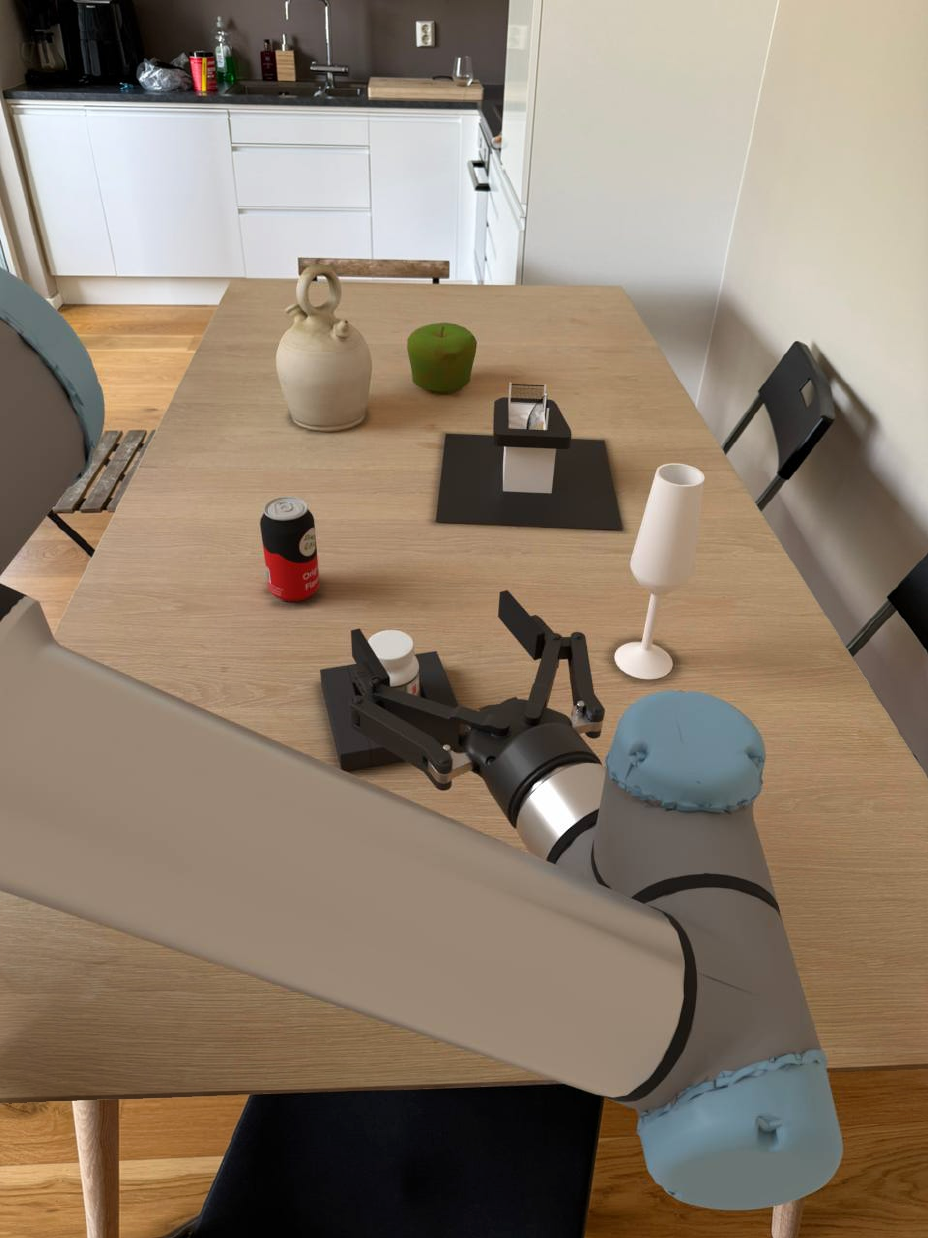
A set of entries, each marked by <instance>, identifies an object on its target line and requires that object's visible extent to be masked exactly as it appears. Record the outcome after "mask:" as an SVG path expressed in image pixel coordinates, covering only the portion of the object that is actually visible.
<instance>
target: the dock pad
mask: <svg viewBox="0 0 928 1238" xmlns="http://www.w3.org/2000/svg"><path fill="white" fill-rule="evenodd" d="M414 655H415V657H416V658H417V660H418V664H419V685H420V697H422V698H425V699H428V700H431V701H434V702H437V703H440V704H443V705H446V706H449V707H452V708H457V707H458V706H460V705H459V703H458V701H457V698H456V696H455V693H454V691H453V688H452V685H451V683H450V681H449V678H448V676H447V674H446V671H445V669H444V666H443V664H442V661H441V659H440V656H439V654H438V651H437V650H434V651H427V652H421V653H414ZM355 665H356V663H351V664H347V665H340V666H333V667H328V668H320V669H319V674H320V685H321V686H320V687H321V691H322V694H323V699H324V705H325V708H326V712H327V715H328V721H329V724H330V729H331V733H332V737H333V741H334V745H335V751H336V755H337V759H338V762H339V767H340V769H341V770H343V771H345V772H349V771H355V770H359V769H365V768H371V767H376V766H381V765H387V764H392V763H397V762H403V761H404V760H403V759H402V758H400V757H398V756H397V755H395V754H394V753H392V752H390V751H389V750H387V749H385V748H384V747H382V746H381V745H379V744H377V743H376V742H374V741H372V740H371V739H369V738H368V737H366V736H364V735H363V734H361V733H360V732H358V731H356V730H355V729H353V728H352V727H351V719H350V702H349V701H350V699H351V698H352V697H353V696H357V695H359V696H362V694H361V692H360V690H359V689H358V687H357V686H356V684H355V672H354V667H355ZM469 732H470V729H469V728H468V725H465V735H466V736H469ZM432 738H433V737H432ZM434 739H435V740H436V741H438V742H439V743H440V744H441V745H442V746H444V745H449V744H448V743H447V742H445V741H442V740H439V739H436V738H434ZM449 746H450V745H449ZM451 750H452V751H454V752H458V751H457V750H454V749H452V748H451Z"/></svg>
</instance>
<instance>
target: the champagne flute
mask: <svg viewBox="0 0 928 1238" xmlns="http://www.w3.org/2000/svg"><path fill="white" fill-rule="evenodd" d="M704 487H705V475H704V473H703V472H702V471H701V470H700V469H698V468H697V467H695V466H692V465H688V464H685V463H675V462H674V463H665V464H662V465H660V466H659V467H657V468H656V471H655V474H654V478H653V481H652V484H651V487H650V491H649V495H648V498H647V502H646V505H645V508H644V512H643V517H642V519H641V522H640V527H639V530H638V533H637V537H636V540H635V543H634V547H633V550H632V555H631V558H630V562H629V563H630V570H631V573H632V575H633V577H634V578H635V580H636V582H637V583H638V584H639V585H640V586H641V587H642V588H643V589H644V590H646V591H647V592H648V593H649V594H650V597H649V602H648V608H647V613H646V617H645V624H644V628H643V632H642V633H643V634H642V640H641V641H632V642H628V643H624V644H622V645H620V647H618V648H617V649H616V651H615V653H614V662H615V664H616V666H617V667H618V668H619V669H620V670H621V671H622V672H624V674H627V675H628V676H631V677H633V678H637V679H641V680H656V679H661V678H663V677H666V676H667V675H669V673H671V671H672V669H673V666H674V664H673V663H674V661H673V659H672V657H671V656H670V654H669V653H668V652H667V651H666V650H664V649H663V648H661V647H660V646H659V645H656V644H653V643H654V637H655V632H656V627H657V621H658V616H659V611H660V607H661V603H662V598H663V596H666V595H668V594H671V593H673V592H677V591H678V590H680V589H681V588H683V587H685V586H686V585H687V584H688V583H689V582H690V581H691V579H692V578H693V577H694V573H695V567H696V559H697V551H698V541H699V540H698V539H699V531H700V523H701V513H702V505H703V496H704Z"/></svg>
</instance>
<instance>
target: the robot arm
mask: <svg viewBox="0 0 928 1238" xmlns="http://www.w3.org/2000/svg"><path fill="white" fill-rule="evenodd" d="M105 405H106V404H105V397H104V391H103V387H102V386H101V383H100V382H99V378H98V374H97V372H96V369H95V367H94V364H93V360H92V358H91V355H90V354H89V352H88V350H87V347H86V346H85V344H84V343H83V341H82V340H81V338H80V337H79V335H78V334H77V333H76V331H75V330H74V328H73V327H72V326H71V324H70V323H69V322H68V321H67V320H66V319H65V317H64V316H63V315H62V314H61V312H60V311H59V310H57V309H56V307H54V306H53V305H52V304H51V303H50V301H48V299H47V298H45V296H42V294H40V293H39V292H38V291H36V290H35V289H34V288H33V287H31V285H29V284H28V283H26V282H25V281H24V280H22V279H20V278H19V277H18V276H17V275H14V274H13V273H12V272H10V271H8V270H7V269H4V268H2V267H1V266H0V577H1V576H2V575H3V573H4V572H5V570H6V569H7V568H8V567H9V565H11V563H12V561H13V560H14V559H15V558H16V556H17V555H18V554H19V553H20V551H21V550H22V549H23V548H24V546H25V545H26V544H27V542H28V541H29V540H30V539H31V537H32V536H33V535H34V534H35V532H36V531H37V529H38V528H39V527H40V525H41V524H42V523H43V522H44V521H45V519H46V517H47V516H48V515H49V514H50V512H51V511H52V510H53V508H54V507H55V506H56V504H58V502H59V501H60V500H61V498H62V497H63V496H64V495H65V493H66V492H67V491H68V489H69V488H70V487H73V486H74V485H75V484H76V483H78V482H79V481H80V480H81V479H82V478H83V477H84V476H85V475H86V473H87V472H88V470H89V469H90V467H91V465H92V463H93V455H94V453H95V451H96V450H97V448H98V446H99V445H100V444H99V443H100V441H101V438H102V436H103V432H104V426H105V419H106V417H105V416H106V412H105V409H106V408H105V407H106V406H105ZM497 611H498V612H497V618H498V619H499V620H500V622H502V623H503V625H504V626H505V627H506V628H507V630H508V632H510V633H511V635H512V636H513V637H514V638H515V639H516V640H517V642H518V643H519V644H520V645H521V647H522V648H523V649H524V650H525V651H526V653H527V654H528V655H529V656H530V657H531V659H532V660H533V661H537V660H540V661H539V665H538V668H537V671H536V676H535V678H534V682H533V683H532V685H531V689H530V692H529V696H528V699H524V698H518V697H517V696H515V697H510V698H507V699H506V700H503V701H502V702H500V703H497V704H487V705H485V706H481V707H479V708H478V710H476V709H472V708H470V707H467V706H464V705H459V706H458V707H457V708H452V707H449V706H446V705H443V704H440V703H437V702H434V701H431V700H428V699H425V698H422V697H419V696H416V695H413V694H410V693H407V692H404V691H401V690H398V689H395V688H392V687H390V676H389V675H388V673H387V672H386V670H385V668H384V667H383V665H382V664H381V662H380V660H379V659H378V657H377V656H376V654H375V652H374V651H373V649H372V648H371V646H370V644H369V643H368V639H367V638H366V635H364V633H363V632H362V629H361V628H356V629H352V630H350V641H351V643H350V645H351V657H352V659H353V660H354V662H355V664H356V665H355V667H354V672H355V684H356V686H357V687H358V689H359V690H360V692H361V694H362V696H359V695H357V696H353V697H352V698H351V699H350V701H349V702H350V719H351V727H352V728H353V729H355V730H356V731H358V732H360V733H361V734H363V735H364V736H366V737H368V738H369V739H371V740H372V741H374V742H376V743H377V744H379V745H381V746H382V747H384V748H385V749H387V750H389V751H390V752H392V753H394V754H395V755H397V756H398V757H400V758H402V759H403V761H405V762H406V763H408V764H410V765H411V766H413V767H415V768H416V769H418V770H419V771H421V772H422V773H424V774H425V776H426V777H427V778H428V779H429V780H430V782H431V783H432V784H433V786H434V787H435V788H436V789H437V790H439V791H442V792H443V791H444V792H445V791H448V790H450V789H451V788H452V786H453V780H454V779H455V778H457V777H460V776H462V775H465V774H466V773H468V772H471V773H473V774H475V775H477V776H478V777H480V778H481V779H482V780H483V782H484V783H485V785H486V788H487V789H488V791H489V793H490V795H491V796H492V798H493V799H494V801H495V802H496V804H497V806H498V807H499V809H500V810H501V812H502V813H503V814H504V816H505V818H506V820H507V821H508V822H509V824H510V825H511V826H512V827H513V828H514V829H515V830H516V833H517V835H518V838H519V839H520V840H521V842H522V843H523V845H524V846H525V848H526V849H527V851H528V852H527V851H525V850H523V849H521V848H519V847H516V846H514V845H512V844H510V843H507V842H506V841H503V840H501V839H499V838H496V837H494V836H491V835H490V834H487V833H485V832H483V831H480V830H478V829H476V828H474V827H472V826H469V825H467V824H464V823H462V822H461V821H458V820H457V819H453V818H451V817H449V816H446V815H445V814H442V813H440V812H437V811H435V810H433V809H431V808H429V807H426V806H424V805H422V804H421V803H418V802H415V801H413V800H410V799H408V798H406V797H404V796H402V795H399V794H398V793H395V792H393V791H391V790H388V789H386V788H384V787H381V786H379V785H377V784H374V783H372V782H370V781H368V780H366V779H364V778H361V777H360V776H356V775H354V774H352V773H350V772H349V771H343V770H341V768H339V767H336V766H334V765H332V764H329V763H327V762H325V761H322V760H321V759H319V758H316V757H314V756H311V755H309V754H307V753H305V752H302V751H301V750H298V749H296V748H293V747H291V746H289V745H287V744H284V743H282V742H280V741H278V740H275V739H273V738H271V737H269V736H266V735H264V734H263V733H259V732H257V731H255V730H253V729H251V728H248V727H246V726H244V725H241V724H239V723H237V722H235V721H233V720H231V719H229V718H226V717H223V716H222V715H219V714H217V713H214V712H212V711H210V710H208V709H206V708H204V707H201V706H198V705H196V704H194V703H193V702H190V701H187V700H185V699H183V698H181V697H178V696H176V695H175V694H172V693H170V692H167V691H165V690H163V689H160V688H159V687H156V686H154V685H152V684H150V683H147V682H145V681H142V680H140V679H138V678H136V677H133V676H131V675H129V674H126V673H124V672H122V671H120V670H118V669H115V668H113V667H111V666H108V665H106V664H105V663H102V662H100V661H98V660H95V659H93V658H91V657H88V656H86V655H84V654H82V653H79V652H77V651H75V650H73V649H70V648H68V647H66V646H63V645H62V644H60V643H59V642H58V641H57V640H56V639H55V637H54V635H53V632H52V629H51V627H50V625H49V622H48V620H47V617H46V614H45V612H44V610H43V607H42V605H41V601H39V600H37V599H36V598H33V597H32V596H30V595H28V594H25V593H23V592H22V591H18V590H17V589H15V588H12V587H9V586H7V585H6V584H3V583H1V582H0V892H2V893H4V894H5V893H6V894H8V895H11V896H14V897H17V898H20V899H23V900H26V901H29V902H33V903H34V904H38V905H41V906H43V907H46V908H50V909H52V910H56V911H58V912H60V913H64V914H67V915H70V916H73V917H76V918H79V919H81V920H83V921H87V922H90V923H92V924H96V925H99V926H101V927H105V928H108V929H111V930H114V931H115V932H119V933H122V934H126V935H128V936H131V937H135V938H137V939H139V940H143V941H145V942H149V943H152V944H154V945H158V946H160V947H163V948H166V949H169V950H172V951H175V952H178V953H181V954H183V955H187V956H190V957H193V958H195V959H199V960H201V961H204V962H207V963H210V964H214V965H215V966H218V967H222V968H225V969H227V970H230V971H233V972H237V973H240V974H242V975H245V976H248V977H251V978H253V979H257V980H259V981H262V982H266V983H269V984H271V985H274V986H276V987H280V988H283V989H287V990H290V991H292V992H295V993H298V994H301V995H303V996H307V997H309V998H312V999H316V1000H319V1001H322V1002H323V1003H326V1004H330V1005H333V1006H336V1007H339V1008H341V1009H344V1010H346V1011H347V1010H348V1011H351V1012H354V1013H356V1014H360V1015H362V1016H365V1017H368V1018H371V1019H374V1020H378V1021H381V1022H383V1023H386V1024H389V1025H392V1026H394V1027H398V1028H400V1029H403V1030H405V1031H409V1032H412V1033H415V1034H417V1035H421V1036H424V1037H427V1038H429V1039H432V1040H435V1041H439V1042H442V1043H444V1044H447V1045H450V1046H453V1047H455V1048H458V1049H462V1050H464V1051H467V1052H470V1053H473V1054H476V1055H479V1056H482V1057H485V1058H488V1059H491V1060H494V1061H497V1062H500V1063H502V1064H505V1065H508V1066H512V1067H514V1068H517V1069H520V1070H523V1071H526V1072H528V1073H532V1074H535V1075H538V1076H541V1077H542V1078H546V1079H548V1080H552V1081H555V1082H558V1083H561V1084H564V1085H567V1086H570V1087H573V1088H575V1089H578V1090H582V1091H584V1092H587V1093H590V1094H593V1095H596V1096H600V1097H602V1098H605V1099H607V1100H610V1101H612V1102H614V1103H617V1104H619V1105H622V1106H624V1107H627V1108H630V1109H634V1110H635V1112H636V1113H637V1127H636V1133H635V1134H637V1136H638V1137H639V1139H640V1143H641V1147H642V1152H643V1156H644V1161H645V1166H646V1169H647V1172H648V1174H649V1175H650V1176H651V1178H652V1180H653V1181H654V1182H655V1184H657V1185H659V1186H662V1188H663V1190H664V1191H665V1192H666V1194H668V1195H670V1196H672V1197H673V1198H674V1199H676V1200H677V1201H679V1202H682V1203H684V1204H688V1205H691V1206H695V1207H699V1208H705V1209H711V1210H718V1211H719V1210H720V1211H750V1210H751V1211H752V1210H761V1209H767V1208H773V1207H778V1206H782V1205H787V1204H789V1203H791V1202H794V1201H797V1200H800V1199H802V1198H805V1197H806V1196H809V1195H810V1194H813V1193H815V1192H816V1191H818V1190H820V1189H821V1188H823V1187H824V1186H826V1185H827V1184H828V1183H829V1182H830V1181H831V1180H832V1178H833V1177H834V1176H835V1174H836V1173H837V1171H838V1169H839V1167H840V1165H841V1162H842V1158H843V1153H844V1152H843V1151H844V1143H843V1138H842V1137H843V1136H842V1132H841V1127H840V1122H839V1119H838V1114H837V1109H836V1105H835V1100H834V1098H833V1097H834V1096H833V1092H832V1087H831V1084H830V1079H829V1075H828V1070H827V1068H828V1066H829V1061H828V1058H827V1055H826V1053H825V1050H824V1049H822V1047H821V1044H820V1041H819V1037H818V1033H817V1030H816V1027H815V1024H814V1021H813V1017H812V1014H811V1011H810V1008H809V1004H808V1001H807V998H806V995H805V992H804V988H803V985H802V981H801V978H800V975H799V971H798V968H797V964H796V962H795V959H794V955H793V952H792V949H791V946H790V942H789V938H788V935H787V932H786V929H785V925H784V923H783V918H782V914H781V910H780V907H779V902H778V899H777V895H776V892H775V889H774V885H773V880H772V878H771V875H770V871H769V867H768V864H767V859H766V857H765V853H764V849H763V846H762V841H761V840H760V836H759V833H758V829H757V826H756V822H755V818H754V803H755V802H756V799H757V798H758V797H759V796H760V795H761V792H762V790H763V788H762V787H763V784H764V781H763V773H764V769H765V764H766V758H767V753H766V746H765V743H764V740H763V737H762V735H761V732H760V731H759V729H758V728H757V726H756V725H755V724H754V723H753V721H752V720H751V719H750V718H749V716H747V715H746V714H745V713H743V712H742V711H741V710H740V709H739V708H737V707H736V706H735V705H733V704H731V703H729V702H728V701H725V700H724V699H721V698H719V697H717V696H714V695H711V694H708V693H705V692H701V691H697V690H696V691H695V690H692V691H685V690H682V689H680V690H675V689H667V690H661V691H655V692H652V693H649V694H646V695H644V696H642V697H640V698H639V699H637V700H636V701H634V702H633V703H631V704H630V705H629V706H628V707H627V708H626V709H625V710H624V712H623V714H621V717H620V718H619V721H618V724H617V726H616V729H615V733H614V736H613V739H612V743H611V745H610V749H609V750H608V752H607V753H608V754H606V755H605V759H604V765H603V764H602V763H603V762H602V760H601V759H600V758H599V756H598V755H597V754H596V753H595V752H594V751H593V749H592V748H591V747H590V746H589V744H588V743H587V741H585V739H584V738H583V737H582V735H581V734H585V736H586V737H587V738H589V739H596V740H597V739H598V738H600V737H601V734H602V729H603V726H604V719H605V713H606V709H605V707H604V706H603V704H602V702H601V701H600V700H599V698H598V696H597V695H596V693H595V690H594V684H593V677H592V670H591V664H590V656H589V651H588V644H587V637H586V635H585V634H584V633H583V632H580V631H574V632H572V633H570V636H563V635H562V634H560V633H558V632H555V631H553V630H552V629H551V627H550V626H549V625H548V624H547V623H546V622H545V621H544V620H543V618H542V617H540V616H538V615H537V614H534V615H530V614H529V613H528V612H527V611H526V610H525V608H524V607H523V605H521V604H520V603H519V601H518V600H517V599H516V598H515V596H513V594H511V592H510V591H509V590H508V589H505V590H501V591H499V597H498V610H497ZM562 660H567V666H568V673H569V681H570V689H571V697H572V705H573V707H572V709H571V713H570V714H571V716H570V717H569V716H567V715H566V714H564V713H562V712H561V711H557V710H555V709H552V708H550V707H548V706H549V702H550V698H551V695H552V690H553V686H554V682H555V679H556V675H557V671H558V669H559V668H560V667H559V666H560V661H562ZM465 725H467V727H468V726H469V736H466V735H465ZM432 737H433V738H432ZM434 738H436V739H439V740H442V741H445V742H447V743H448V744H449V745H450V746H449V745H444V746H442V745H441V744H440V743H439V742H438V741H436V740H435V739H434ZM451 748H452V749H454V750H457V751H452V750H451Z"/></svg>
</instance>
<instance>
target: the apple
mask: <svg viewBox="0 0 928 1238" xmlns="http://www.w3.org/2000/svg"><path fill="white" fill-rule="evenodd" d="M406 340H407V343H406V349H407V354H408V359H409V365H410V370H411V379H412V383H413V384H414V385H416V386H417V387H418V388H421V389H423V390H425V391H426V392H429V393H430V394H431V393H432V394H435V395H440V396H441V395H444V396H446V395H447V396H448V395H452V394H455V393H457V392H459V391H460V390H462V389H463V388H465V387H466V386H467V385H468V384H469V383H470V381H471V377H472V372H473V366H474V361H475V359H476V358H475V357H476V355H477V354H476V352H477V344H478V341H477V339H476V337H475V336H474V334H473V333H472V332H471V330H469V329H468V328H466V327H465V326H462V325H459V324H457V323H451V322H436V323H431V324H427V325H426V324H425V325H423V326H420V327H417V328H416V329H415V330H413V332H411V333H410V334H409V336H408V337H407V339H406Z"/></svg>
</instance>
